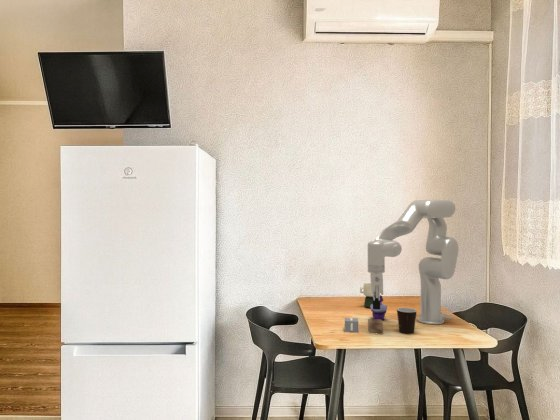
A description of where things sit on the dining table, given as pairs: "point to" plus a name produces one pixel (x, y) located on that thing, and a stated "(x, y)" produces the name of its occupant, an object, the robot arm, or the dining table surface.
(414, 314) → the coffee mug
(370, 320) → the walnut block
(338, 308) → the dining table surface
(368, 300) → the character mug
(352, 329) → the marked slate block
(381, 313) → the potion bottle
